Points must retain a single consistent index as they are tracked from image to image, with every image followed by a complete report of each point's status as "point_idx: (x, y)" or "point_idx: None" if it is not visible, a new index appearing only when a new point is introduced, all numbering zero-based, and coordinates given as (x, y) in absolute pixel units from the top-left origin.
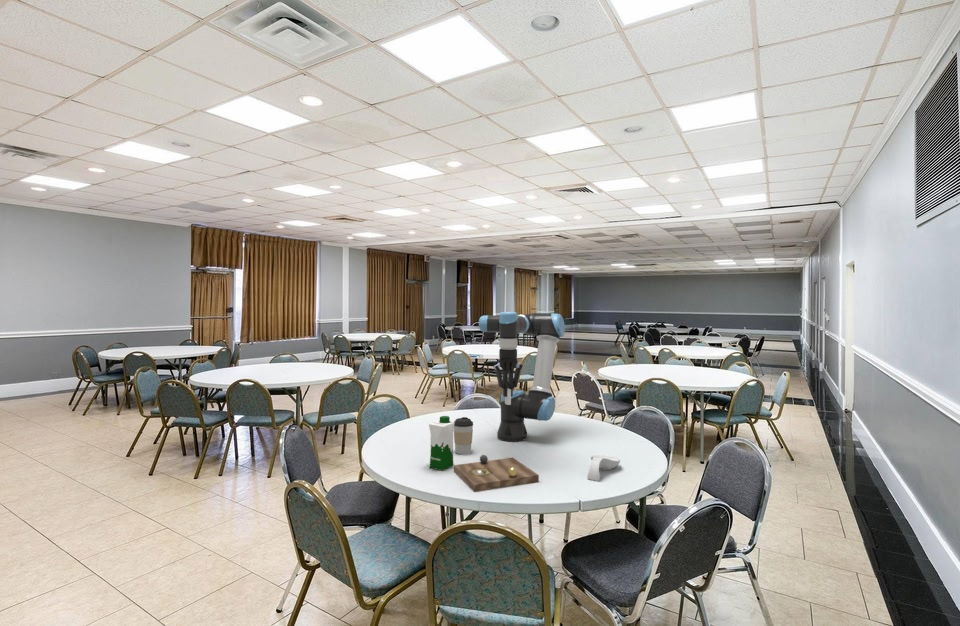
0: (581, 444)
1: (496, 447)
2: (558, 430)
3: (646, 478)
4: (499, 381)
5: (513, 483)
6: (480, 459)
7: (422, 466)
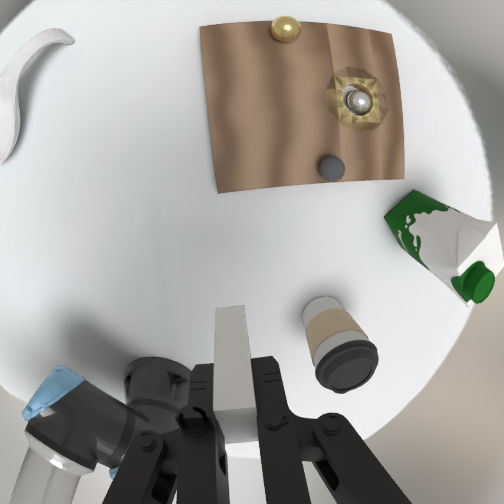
0: (18, 296)
1: None
2: None
3: None
4: (378, 474)
5: None
6: (344, 165)
7: None
